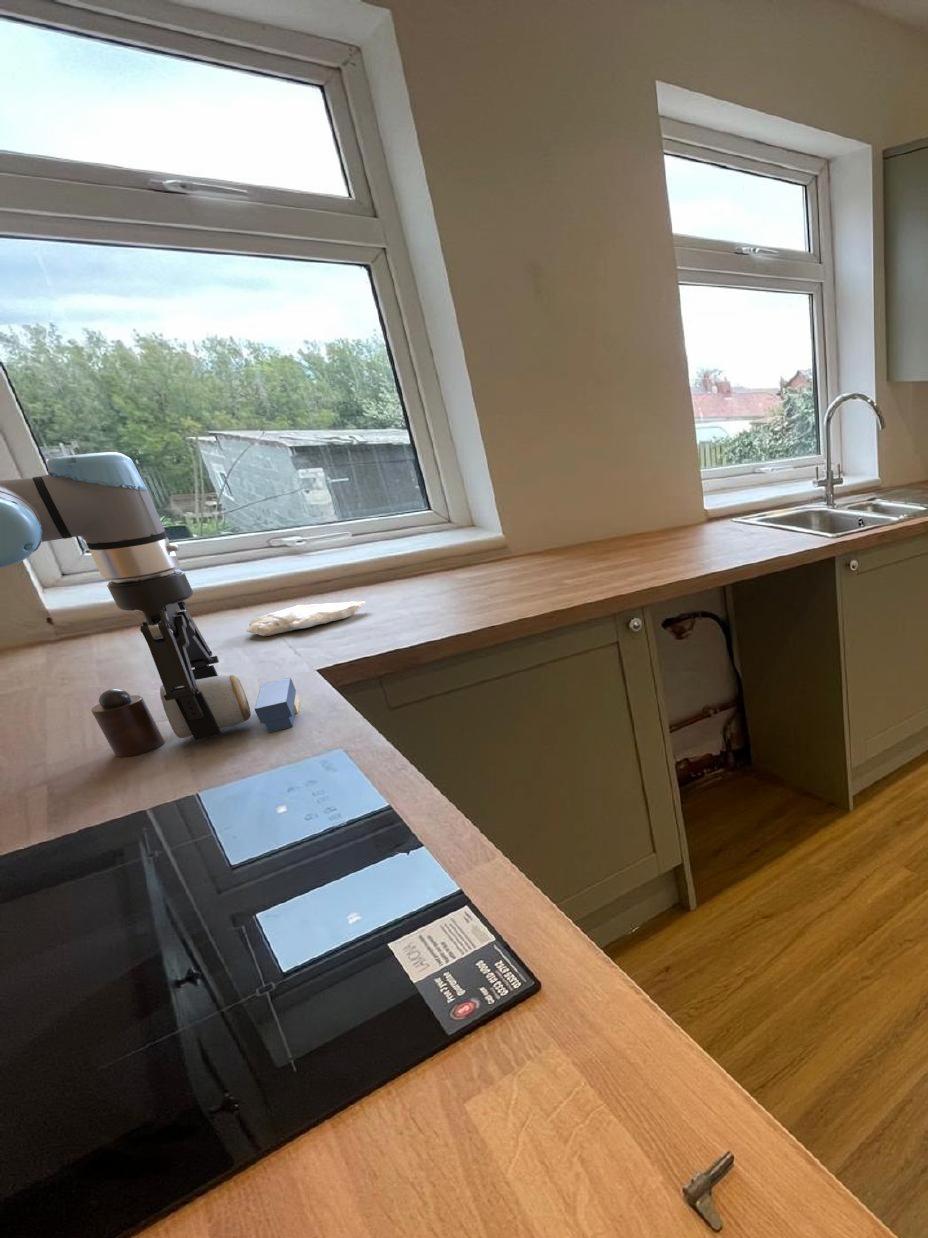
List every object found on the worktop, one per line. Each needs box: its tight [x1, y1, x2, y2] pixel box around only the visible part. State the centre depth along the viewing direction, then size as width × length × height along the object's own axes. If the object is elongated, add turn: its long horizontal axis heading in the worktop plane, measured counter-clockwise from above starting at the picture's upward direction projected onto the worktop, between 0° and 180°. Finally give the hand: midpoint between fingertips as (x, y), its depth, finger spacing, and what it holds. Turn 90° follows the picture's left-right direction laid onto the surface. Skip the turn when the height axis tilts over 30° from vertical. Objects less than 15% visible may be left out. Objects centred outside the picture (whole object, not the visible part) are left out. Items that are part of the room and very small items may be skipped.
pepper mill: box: [90, 688, 165, 758], centre depth 98 cm, size 5×5×9 cm
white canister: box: [159, 674, 252, 739], centre depth 102 cm, size 11×8×8 cm
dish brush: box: [254, 677, 301, 734], centre depth 106 cm, size 11×4×4 cm, turn 35°
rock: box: [246, 600, 366, 637], centre depth 146 cm, size 4×13×20 cm
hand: (214, 721), depth 103 cm, fingers closed on white canister, 11 cm apart
